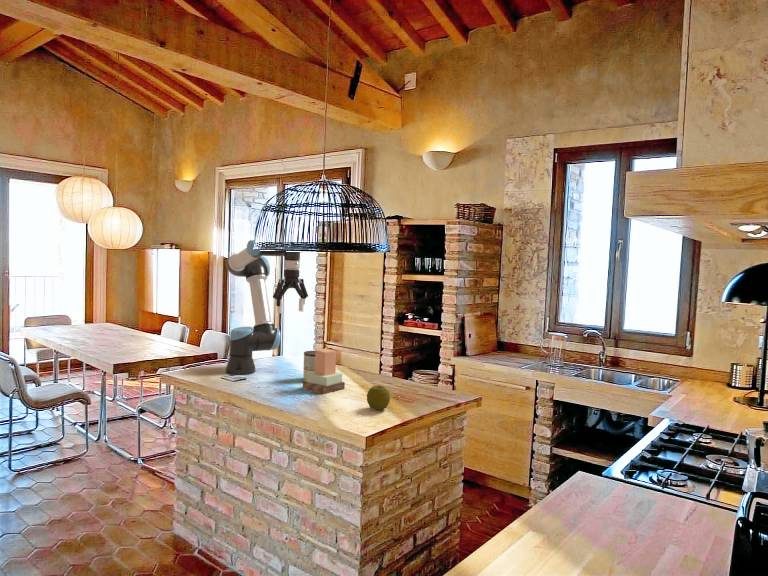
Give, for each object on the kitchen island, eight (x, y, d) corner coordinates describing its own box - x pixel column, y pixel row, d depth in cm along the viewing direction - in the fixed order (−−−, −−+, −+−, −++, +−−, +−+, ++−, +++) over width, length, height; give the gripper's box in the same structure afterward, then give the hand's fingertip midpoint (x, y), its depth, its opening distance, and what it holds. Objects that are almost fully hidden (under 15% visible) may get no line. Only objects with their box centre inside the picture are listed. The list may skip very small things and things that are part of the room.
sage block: (306, 381, 270) (306, 373, 270) (322, 377, 280) (322, 369, 280) (326, 386, 264) (326, 377, 263) (341, 381, 274) (342, 373, 274)
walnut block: (302, 389, 271) (303, 381, 271) (323, 385, 282) (324, 377, 282) (323, 395, 262) (323, 386, 262) (344, 390, 273) (344, 382, 273)
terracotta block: (314, 372, 272) (315, 350, 271) (325, 371, 277) (326, 348, 276) (324, 375, 267) (325, 352, 266) (335, 373, 272) (336, 351, 271)
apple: (361, 407, 243) (362, 382, 242) (380, 405, 248) (381, 380, 247) (375, 414, 234) (376, 387, 234) (394, 411, 240) (395, 385, 239)
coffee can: (305, 376, 295) (306, 350, 294) (325, 378, 294) (326, 351, 293) (300, 381, 285) (301, 353, 284) (320, 382, 284) (321, 354, 283)
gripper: (276, 269, 268) (274, 314, 269) (315, 269, 287) (314, 311, 288) (266, 268, 273) (265, 312, 274) (306, 268, 291) (304, 309, 293)
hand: (290, 312), depth 281 cm, fingers open, 13 cm apart
